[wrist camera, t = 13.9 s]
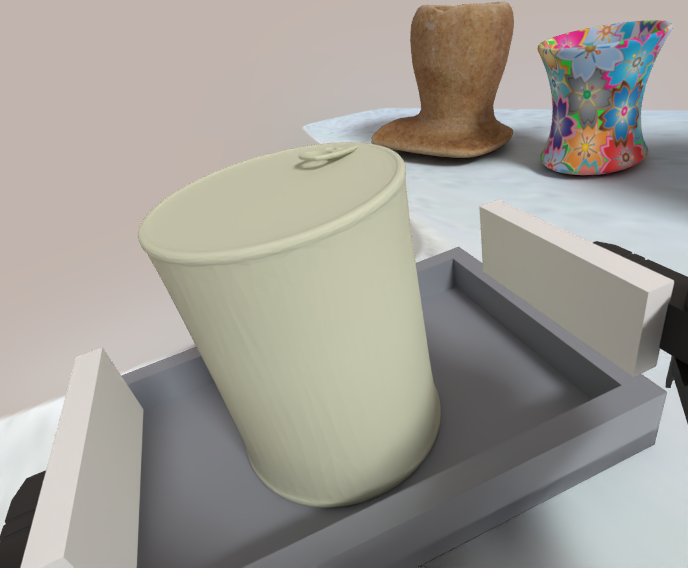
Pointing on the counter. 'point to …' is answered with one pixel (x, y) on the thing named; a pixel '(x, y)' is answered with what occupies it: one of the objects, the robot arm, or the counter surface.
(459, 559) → the counter surface
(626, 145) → the mug
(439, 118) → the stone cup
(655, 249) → the counter surface
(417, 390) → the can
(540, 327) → the tray
